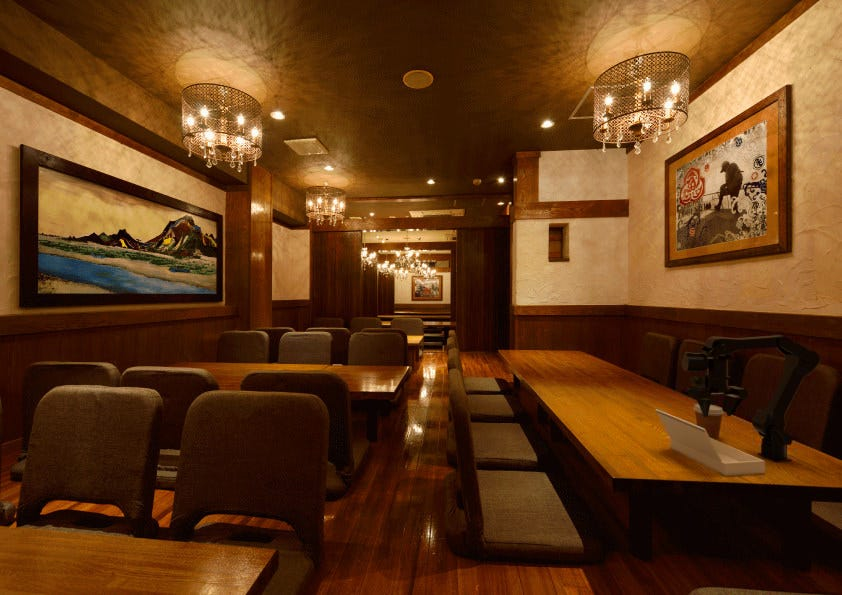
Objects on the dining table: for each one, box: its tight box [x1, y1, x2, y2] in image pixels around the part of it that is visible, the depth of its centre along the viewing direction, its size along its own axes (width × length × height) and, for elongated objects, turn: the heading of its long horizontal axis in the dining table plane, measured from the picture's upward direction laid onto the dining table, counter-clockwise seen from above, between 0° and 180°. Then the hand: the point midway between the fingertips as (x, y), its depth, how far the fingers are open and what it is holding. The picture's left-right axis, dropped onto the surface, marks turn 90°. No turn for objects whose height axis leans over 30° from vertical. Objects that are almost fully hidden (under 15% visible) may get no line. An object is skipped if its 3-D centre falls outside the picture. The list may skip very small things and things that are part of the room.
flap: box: [655, 408, 722, 462], centre depth 129 cm, size 12×21×1 cm
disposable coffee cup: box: [693, 403, 725, 441], centre depth 151 cm, size 10×10×12 cm
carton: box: [669, 437, 766, 477], centre depth 130 cm, size 14×22×4 cm, turn 7°
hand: (717, 416), depth 136 cm, fingers open, 9 cm apart
